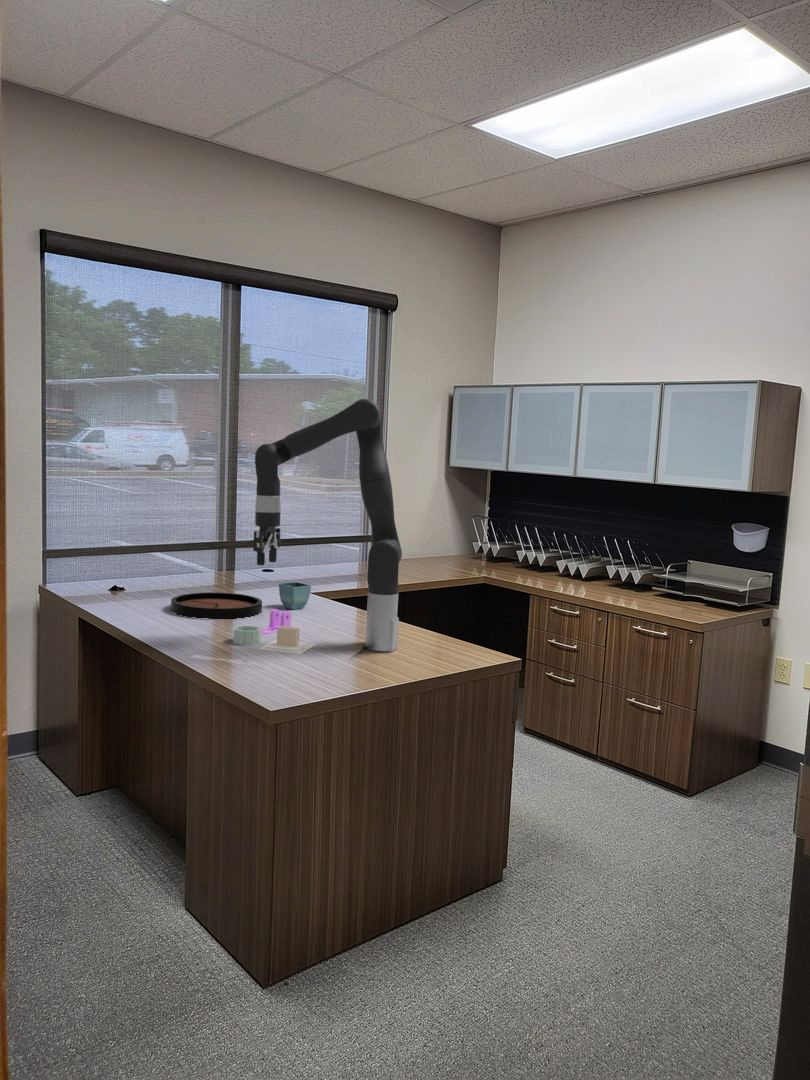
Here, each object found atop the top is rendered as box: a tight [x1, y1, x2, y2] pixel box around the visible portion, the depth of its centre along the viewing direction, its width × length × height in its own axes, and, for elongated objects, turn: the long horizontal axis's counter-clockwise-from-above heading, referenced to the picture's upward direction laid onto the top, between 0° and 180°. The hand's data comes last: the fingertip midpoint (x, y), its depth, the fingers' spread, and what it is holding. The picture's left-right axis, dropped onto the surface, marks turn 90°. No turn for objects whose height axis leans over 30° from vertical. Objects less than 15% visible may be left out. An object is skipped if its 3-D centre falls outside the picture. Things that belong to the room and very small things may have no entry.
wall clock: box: [170, 591, 263, 620], centre depth 300 cm, size 31×4×31 cm
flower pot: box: [278, 581, 312, 610], centre depth 312 cm, size 9×9×9 cm
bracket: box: [261, 608, 292, 635], centre depth 269 cm, size 13×6×7 cm, turn 152°
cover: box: [265, 626, 311, 652], centre depth 249 cm, size 10×10×6 cm
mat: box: [257, 639, 317, 655], centre depth 249 cm, size 13×13×1 cm
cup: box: [232, 625, 262, 646], centre depth 252 cm, size 8×8×5 cm
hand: (266, 563), depth 258 cm, fingers open, 8 cm apart
